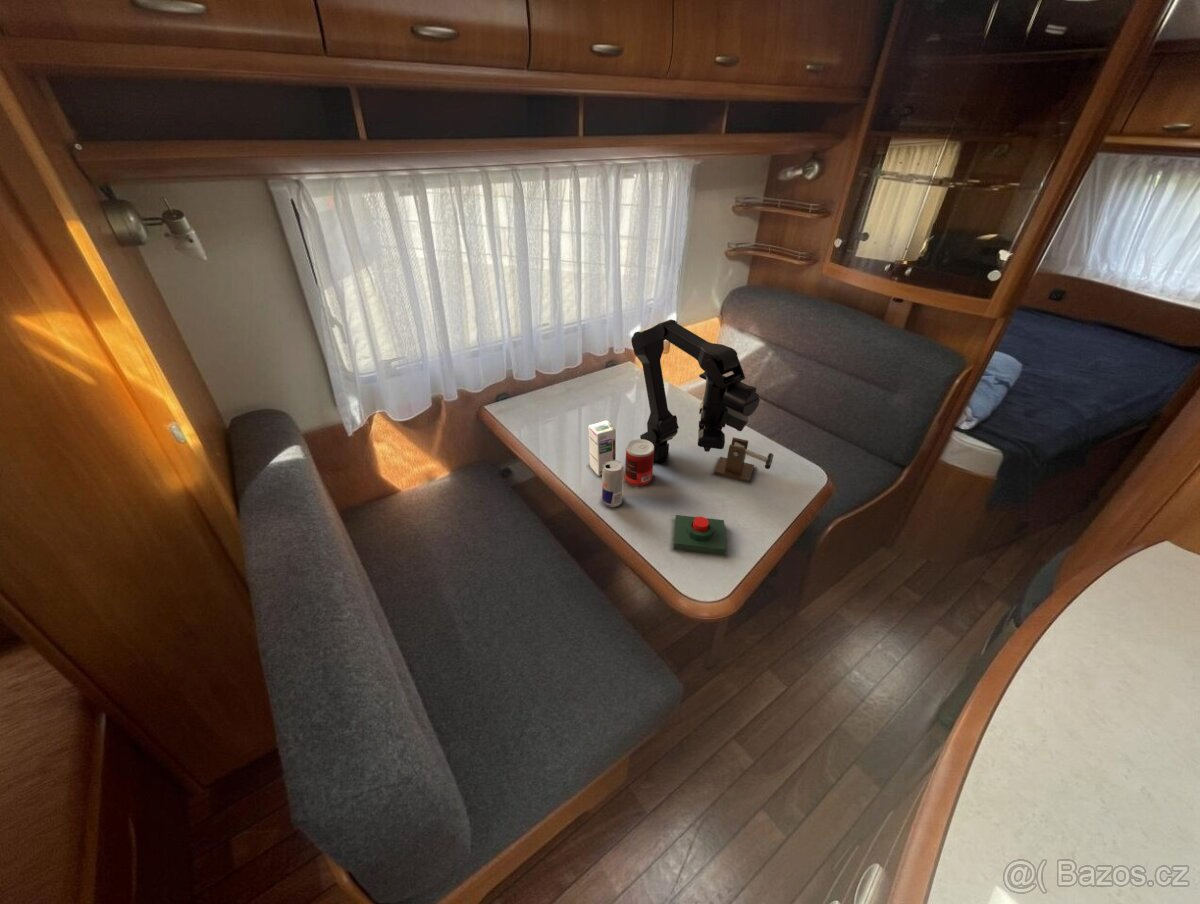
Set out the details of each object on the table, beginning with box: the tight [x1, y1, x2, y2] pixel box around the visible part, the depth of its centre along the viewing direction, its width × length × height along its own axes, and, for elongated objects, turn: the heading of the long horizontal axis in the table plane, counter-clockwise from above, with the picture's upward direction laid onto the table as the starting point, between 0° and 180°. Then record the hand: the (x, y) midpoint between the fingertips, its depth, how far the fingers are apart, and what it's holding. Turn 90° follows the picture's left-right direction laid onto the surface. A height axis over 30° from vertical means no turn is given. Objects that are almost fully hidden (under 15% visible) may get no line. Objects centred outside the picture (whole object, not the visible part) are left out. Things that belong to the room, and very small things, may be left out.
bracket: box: [713, 437, 755, 483], centre depth 137 cm, size 10×8×10 cm
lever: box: [734, 442, 774, 470], centre depth 134 cm, size 11×6×2 cm, turn 65°
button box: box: [672, 514, 727, 556], centre depth 116 cm, size 12×10×4 cm
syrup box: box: [588, 420, 617, 477], centre depth 137 cm, size 6×6×14 cm
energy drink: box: [601, 459, 624, 508], centre depth 125 cm, size 5×5×12 cm
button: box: [693, 516, 709, 532], centre depth 115 cm, size 4×4×2 cm
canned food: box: [624, 438, 654, 487], centre depth 134 cm, size 8×8×11 cm
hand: (706, 450), depth 126 cm, fingers closed
